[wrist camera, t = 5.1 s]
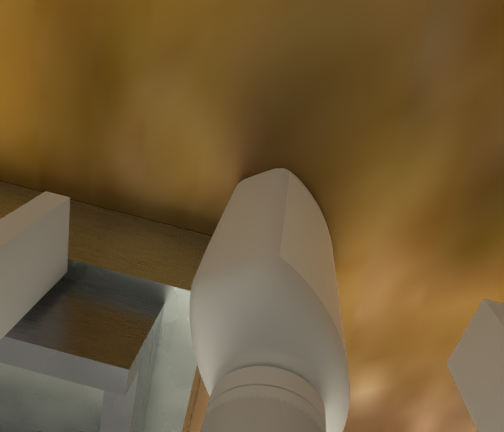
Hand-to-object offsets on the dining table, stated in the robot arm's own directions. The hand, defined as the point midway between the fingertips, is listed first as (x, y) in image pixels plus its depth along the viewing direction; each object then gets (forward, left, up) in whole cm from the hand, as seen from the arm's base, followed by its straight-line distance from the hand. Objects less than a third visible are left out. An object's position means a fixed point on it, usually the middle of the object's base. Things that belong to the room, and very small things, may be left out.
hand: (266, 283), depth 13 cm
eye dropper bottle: (0, 0, -4) cm, 4 cm away
